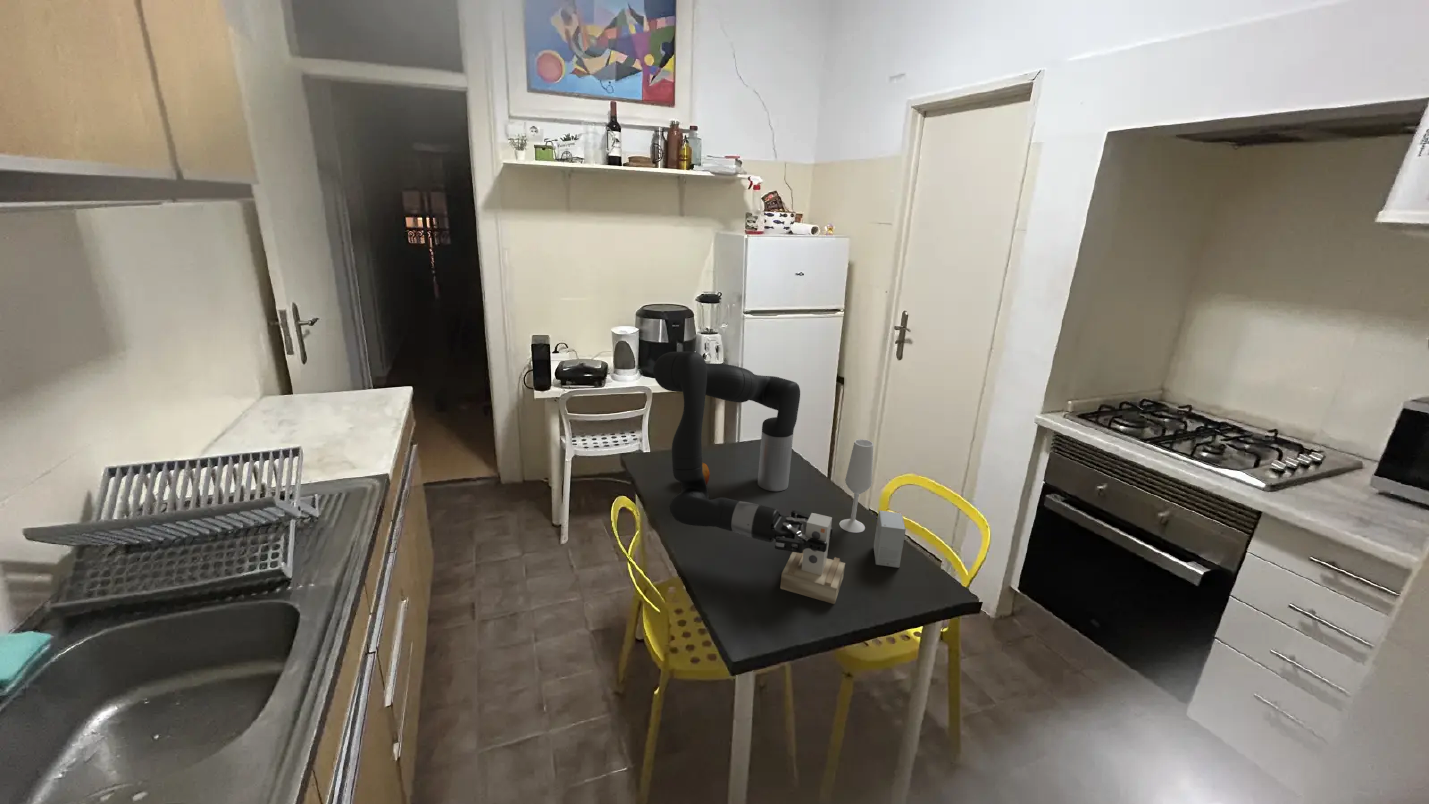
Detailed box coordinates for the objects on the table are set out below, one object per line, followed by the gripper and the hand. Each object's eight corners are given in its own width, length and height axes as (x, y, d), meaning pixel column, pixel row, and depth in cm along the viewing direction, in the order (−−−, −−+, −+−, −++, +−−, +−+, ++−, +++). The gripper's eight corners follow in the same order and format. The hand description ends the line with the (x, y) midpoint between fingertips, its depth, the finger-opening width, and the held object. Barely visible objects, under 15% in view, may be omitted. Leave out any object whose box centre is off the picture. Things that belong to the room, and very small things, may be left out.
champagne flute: (870, 528, 150) (883, 445, 142) (851, 535, 147) (863, 450, 139) (852, 517, 156) (864, 436, 148) (834, 522, 152) (844, 440, 145)
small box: (899, 568, 134) (906, 530, 131) (874, 565, 135) (881, 526, 132) (896, 550, 141) (902, 512, 138) (873, 546, 142) (878, 509, 139)
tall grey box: (806, 559, 129) (811, 512, 125) (825, 564, 127) (832, 517, 124) (801, 570, 125) (806, 522, 121) (821, 576, 123) (827, 527, 119)
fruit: (718, 477, 172) (711, 461, 166) (705, 498, 167) (698, 482, 162) (696, 470, 176) (689, 454, 170) (683, 490, 171) (675, 474, 166)
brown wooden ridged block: (792, 564, 134) (793, 546, 132) (843, 578, 130) (845, 560, 128) (780, 588, 125) (782, 570, 123) (834, 604, 121) (837, 585, 119)
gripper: (745, 521, 121) (824, 541, 115) (766, 492, 133) (838, 509, 128) (743, 551, 123) (820, 572, 117) (763, 520, 136) (834, 538, 130)
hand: (829, 539), depth 123 cm, fingers open, 5 cm apart
